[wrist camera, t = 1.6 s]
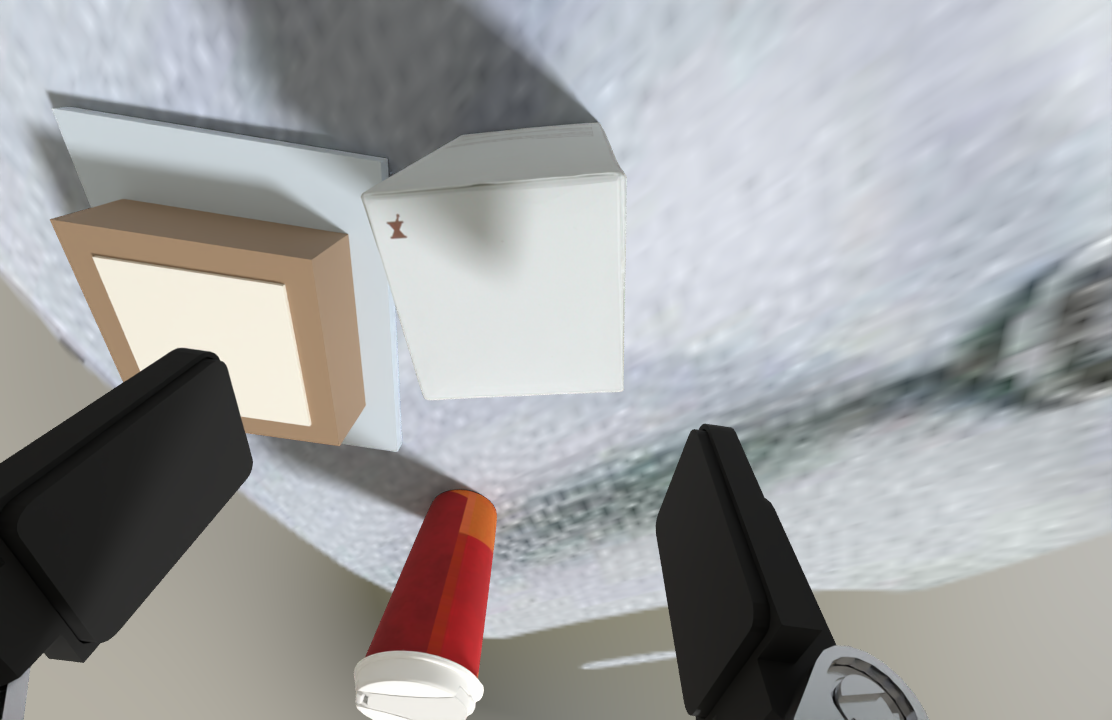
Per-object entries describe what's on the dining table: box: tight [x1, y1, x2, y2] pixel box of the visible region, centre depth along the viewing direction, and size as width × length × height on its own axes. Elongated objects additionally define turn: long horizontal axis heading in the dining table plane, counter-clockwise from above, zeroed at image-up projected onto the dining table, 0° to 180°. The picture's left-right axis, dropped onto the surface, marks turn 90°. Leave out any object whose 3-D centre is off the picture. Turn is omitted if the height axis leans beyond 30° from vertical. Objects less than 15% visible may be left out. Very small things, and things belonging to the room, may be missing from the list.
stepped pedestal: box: [50, 107, 402, 452], centre depth 27 cm, size 20×16×5 cm
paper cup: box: [354, 490, 497, 720], centre depth 32 cm, size 8×8×14 cm
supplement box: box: [361, 123, 627, 400], centre depth 19 cm, size 7×7×13 cm
